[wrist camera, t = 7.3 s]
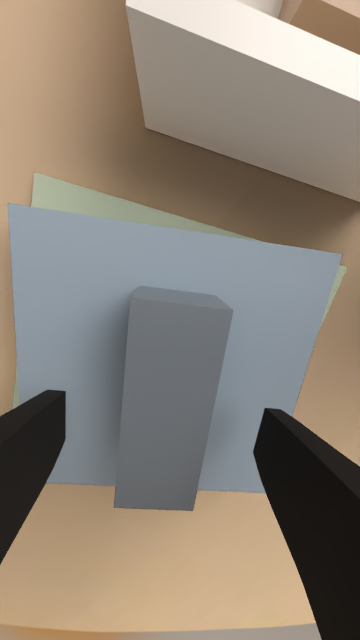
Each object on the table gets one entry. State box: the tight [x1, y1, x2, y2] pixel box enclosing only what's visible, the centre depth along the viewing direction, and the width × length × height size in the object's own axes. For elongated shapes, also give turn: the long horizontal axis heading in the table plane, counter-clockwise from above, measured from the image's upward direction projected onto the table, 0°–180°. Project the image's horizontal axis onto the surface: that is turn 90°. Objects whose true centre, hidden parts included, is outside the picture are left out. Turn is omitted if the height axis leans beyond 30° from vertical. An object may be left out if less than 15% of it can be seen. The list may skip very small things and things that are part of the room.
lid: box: [8, 203, 343, 511], centre depth 10 cm, size 12×12×5 cm
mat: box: [12, 172, 348, 409], centre depth 13 cm, size 15×15×1 cm
